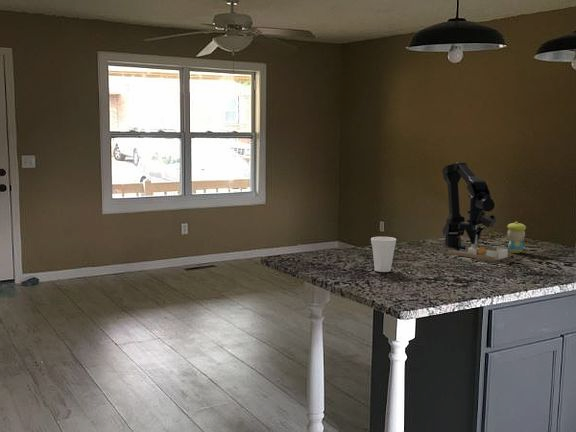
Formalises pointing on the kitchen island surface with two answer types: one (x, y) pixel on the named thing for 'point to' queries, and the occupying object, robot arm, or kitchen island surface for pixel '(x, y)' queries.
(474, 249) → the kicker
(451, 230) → the robot arm
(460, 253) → the pitch
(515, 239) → the toy
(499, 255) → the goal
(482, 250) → the ball
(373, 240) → the cup
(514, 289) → the kitchen island surface
